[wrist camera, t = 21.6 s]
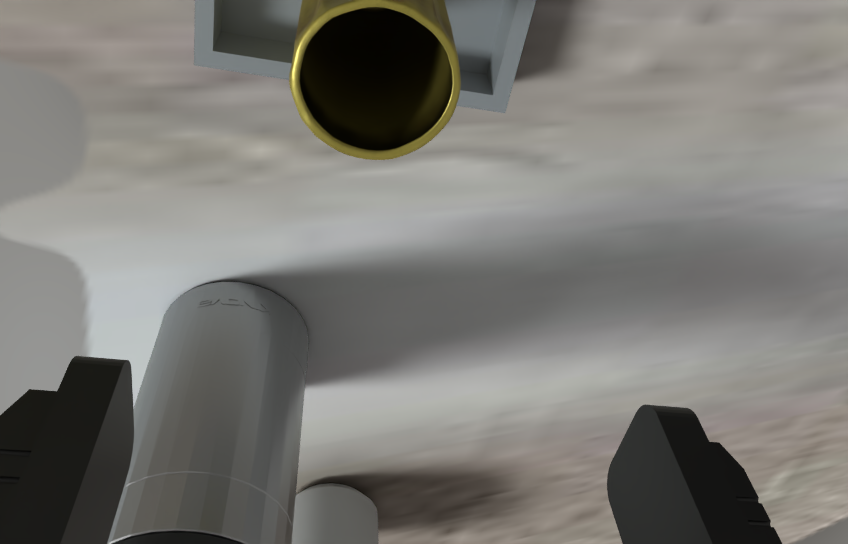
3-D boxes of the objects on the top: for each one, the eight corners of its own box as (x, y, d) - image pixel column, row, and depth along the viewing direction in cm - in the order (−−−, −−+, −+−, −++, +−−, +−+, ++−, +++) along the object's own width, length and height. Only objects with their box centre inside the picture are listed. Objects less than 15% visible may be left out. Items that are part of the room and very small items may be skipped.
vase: (321, -138, 32) (299, -48, 20) (457, -90, 33) (507, 19, 22) (290, 2, 35) (256, 146, 24) (414, 40, 37) (438, 192, 25)
